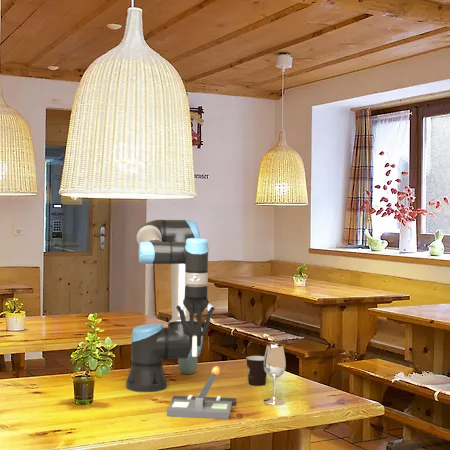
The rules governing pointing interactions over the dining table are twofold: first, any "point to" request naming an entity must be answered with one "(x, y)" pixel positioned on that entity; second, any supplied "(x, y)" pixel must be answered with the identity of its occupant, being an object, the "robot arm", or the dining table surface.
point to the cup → (187, 365)
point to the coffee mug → (256, 370)
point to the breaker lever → (209, 382)
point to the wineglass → (274, 368)
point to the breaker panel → (200, 408)
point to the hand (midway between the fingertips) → (194, 355)
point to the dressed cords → (206, 398)
